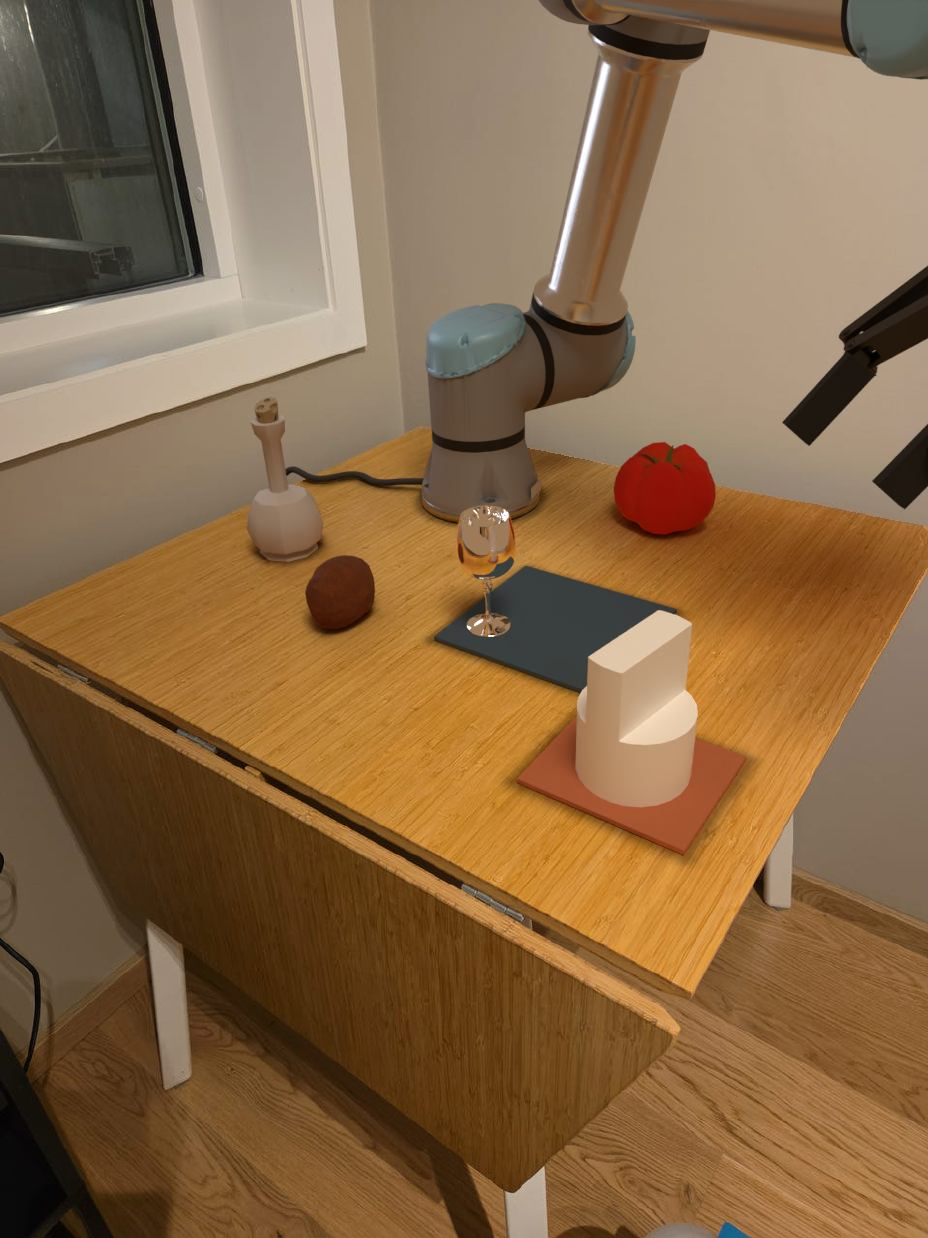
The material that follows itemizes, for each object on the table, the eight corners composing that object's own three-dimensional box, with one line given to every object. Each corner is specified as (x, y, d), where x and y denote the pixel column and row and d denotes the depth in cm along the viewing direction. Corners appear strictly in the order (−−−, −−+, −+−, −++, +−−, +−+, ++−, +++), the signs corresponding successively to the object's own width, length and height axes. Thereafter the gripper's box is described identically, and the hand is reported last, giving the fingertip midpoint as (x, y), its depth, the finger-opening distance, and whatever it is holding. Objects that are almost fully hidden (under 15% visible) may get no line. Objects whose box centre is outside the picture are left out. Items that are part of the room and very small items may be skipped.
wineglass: (524, 614, 92) (523, 506, 85) (508, 644, 87) (505, 532, 81) (470, 606, 93) (465, 500, 87) (451, 636, 89) (445, 525, 82)
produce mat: (516, 783, 71) (516, 778, 71) (590, 704, 79) (590, 700, 79) (683, 855, 64) (684, 850, 64) (745, 761, 72) (746, 756, 72)
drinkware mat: (434, 640, 89) (433, 636, 89) (525, 569, 101) (525, 565, 100) (596, 698, 80) (596, 694, 80) (676, 612, 91) (676, 608, 91)
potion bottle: (339, 537, 109) (320, 392, 100) (298, 571, 103) (273, 418, 93) (279, 527, 113) (255, 385, 103) (236, 558, 106) (206, 409, 96)
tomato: (625, 499, 115) (629, 431, 110) (721, 513, 111) (729, 442, 106) (599, 534, 107) (602, 462, 102) (701, 550, 102) (709, 476, 98)
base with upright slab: (621, 717, 77) (628, 595, 70) (713, 765, 71) (730, 637, 65) (551, 769, 71) (552, 642, 65) (645, 825, 66) (656, 692, 60)
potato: (289, 628, 92) (279, 572, 89) (344, 587, 99) (337, 534, 96) (343, 645, 89) (336, 588, 86) (396, 601, 96) (391, 547, 92)
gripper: (1308, 253, 46) (978, 564, 52) (1001, 219, 68) (796, 441, 74) (1237, 150, 43) (899, 492, 50) (941, 150, 65) (734, 386, 72)
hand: (837, 462), depth 62 cm, fingers open, 13 cm apart
